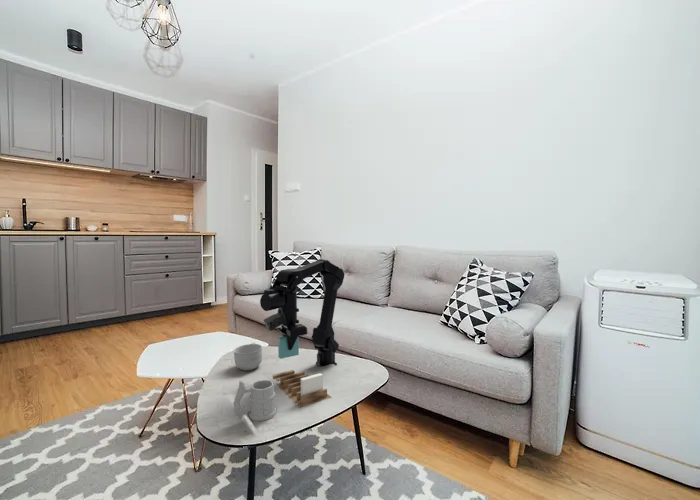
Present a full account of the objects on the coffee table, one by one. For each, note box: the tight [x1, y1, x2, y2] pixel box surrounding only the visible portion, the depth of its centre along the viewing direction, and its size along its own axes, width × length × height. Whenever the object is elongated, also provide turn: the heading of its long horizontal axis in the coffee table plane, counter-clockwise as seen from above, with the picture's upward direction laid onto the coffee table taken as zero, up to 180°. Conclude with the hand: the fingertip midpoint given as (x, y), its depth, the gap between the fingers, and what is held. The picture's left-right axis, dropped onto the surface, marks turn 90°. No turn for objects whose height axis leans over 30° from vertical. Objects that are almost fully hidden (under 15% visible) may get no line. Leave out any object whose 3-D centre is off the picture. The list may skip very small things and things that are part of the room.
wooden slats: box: [272, 369, 297, 382], centre depth 124 cm, size 8×5×2 cm, turn 124°
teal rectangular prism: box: [277, 336, 300, 360], centre depth 120 cm, size 7×2×7 cm, turn 123°
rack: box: [276, 371, 333, 409], centre depth 112 cm, size 11×19×4 cm, turn 34°
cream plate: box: [301, 372, 324, 396], centre depth 107 cm, size 7×2×7 cm, turn 124°
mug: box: [232, 379, 277, 422], centre depth 97 cm, size 8×12×12 cm, turn 112°
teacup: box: [232, 342, 263, 371], centre depth 136 cm, size 14×11×8 cm
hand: (289, 349), depth 120 cm, fingers closed on teal rectangular prism, 2 cm apart
